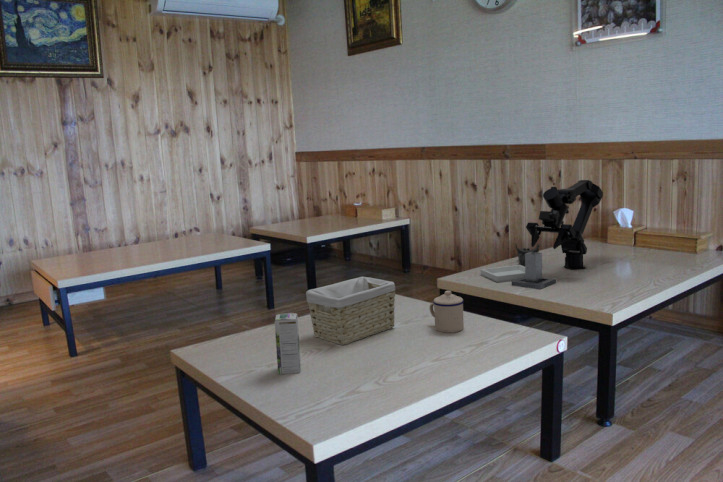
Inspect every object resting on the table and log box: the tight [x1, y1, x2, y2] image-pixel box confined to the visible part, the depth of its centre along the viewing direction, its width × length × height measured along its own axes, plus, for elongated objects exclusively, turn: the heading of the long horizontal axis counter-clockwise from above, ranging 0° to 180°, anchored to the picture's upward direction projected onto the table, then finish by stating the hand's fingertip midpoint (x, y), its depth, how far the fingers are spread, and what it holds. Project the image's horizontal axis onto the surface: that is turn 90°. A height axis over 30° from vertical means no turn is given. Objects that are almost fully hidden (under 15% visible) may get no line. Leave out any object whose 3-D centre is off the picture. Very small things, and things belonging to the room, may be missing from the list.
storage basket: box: [305, 276, 396, 346], centre depth 184 cm, size 24×16×15 cm
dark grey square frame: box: [511, 276, 557, 290], centre depth 231 cm, size 12×12×2 cm
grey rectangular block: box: [525, 251, 543, 283], centre depth 230 cm, size 4×4×12 cm
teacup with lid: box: [429, 290, 465, 334], centre depth 183 cm, size 12×9×12 cm
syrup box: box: [274, 312, 302, 375], centre depth 156 cm, size 6×6×14 cm
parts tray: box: [479, 264, 525, 283], centre depth 246 cm, size 18×15×2 cm
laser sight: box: [515, 243, 540, 267], centre depth 264 cm, size 10×22×10 cm, turn 171°
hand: (542, 247), depth 234 cm, fingers open, 9 cm apart
